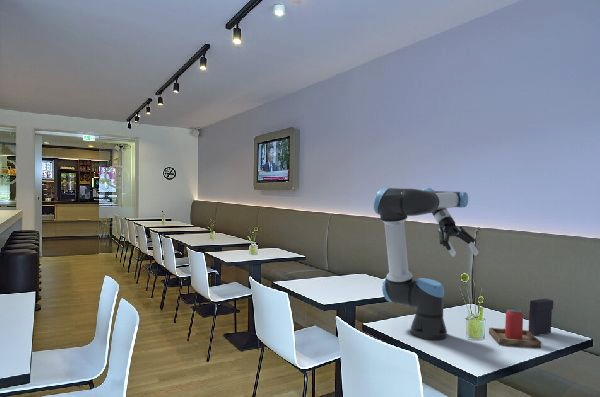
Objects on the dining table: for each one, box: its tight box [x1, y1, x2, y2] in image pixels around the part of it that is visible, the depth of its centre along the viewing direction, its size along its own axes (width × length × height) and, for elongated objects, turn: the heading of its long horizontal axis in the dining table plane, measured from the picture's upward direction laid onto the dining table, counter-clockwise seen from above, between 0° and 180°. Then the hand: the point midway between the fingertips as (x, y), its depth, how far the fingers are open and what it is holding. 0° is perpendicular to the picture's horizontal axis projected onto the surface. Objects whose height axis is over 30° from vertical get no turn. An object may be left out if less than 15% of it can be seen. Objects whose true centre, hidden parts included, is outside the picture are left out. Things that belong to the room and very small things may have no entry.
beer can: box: [504, 307, 524, 340], centre depth 176 cm, size 7×7×12 cm
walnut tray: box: [488, 327, 542, 349], centre depth 176 cm, size 16×14×2 cm
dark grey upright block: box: [527, 298, 554, 337], centre depth 186 cm, size 11×4×15 cm, turn 115°
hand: (465, 254), depth 198 cm, fingers open, 13 cm apart
